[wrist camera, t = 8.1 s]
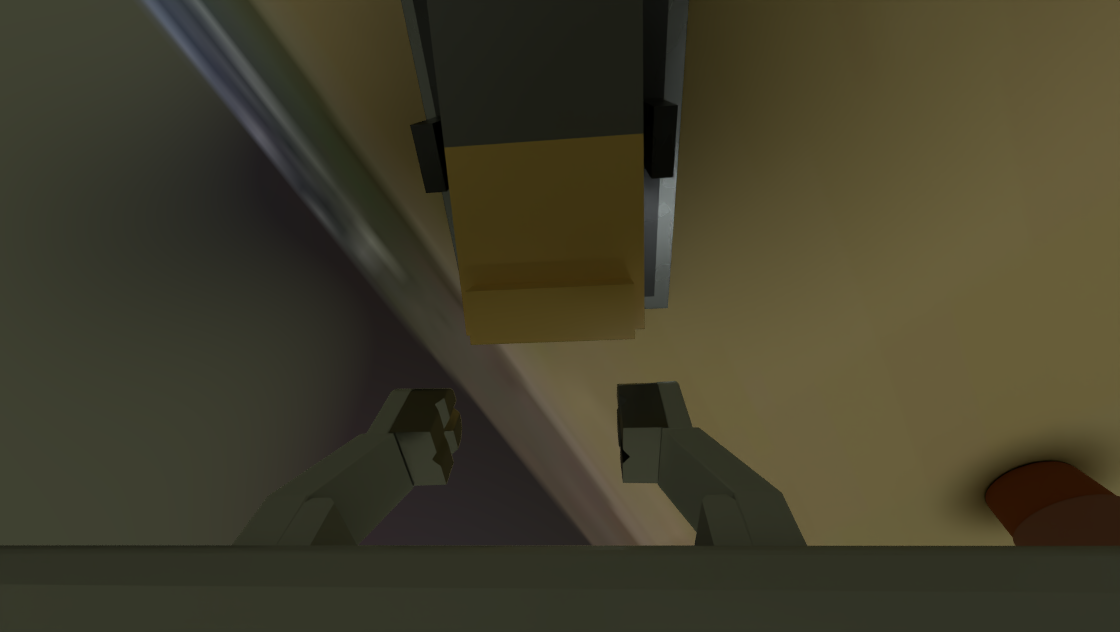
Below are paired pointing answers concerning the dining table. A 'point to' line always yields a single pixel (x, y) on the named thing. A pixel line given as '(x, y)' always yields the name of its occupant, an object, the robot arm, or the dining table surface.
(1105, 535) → the cup with straw
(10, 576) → the robot arm
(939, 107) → the dining table surface
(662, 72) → the grey box with tabs
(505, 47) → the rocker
